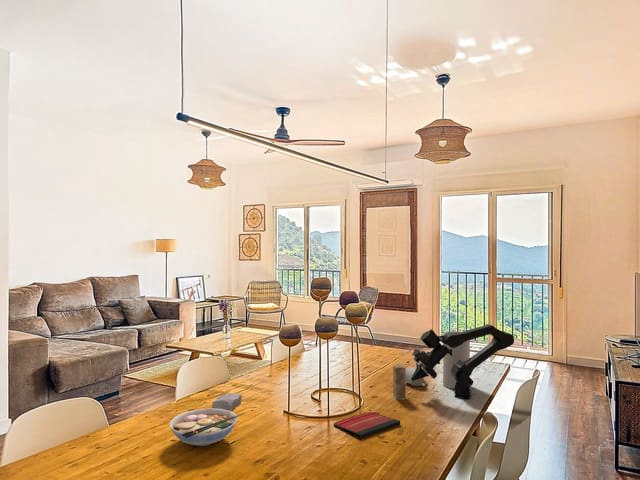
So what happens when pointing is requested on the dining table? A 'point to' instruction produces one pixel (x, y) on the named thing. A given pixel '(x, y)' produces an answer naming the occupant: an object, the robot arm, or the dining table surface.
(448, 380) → the cylinder vase
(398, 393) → the walnut block
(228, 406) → the stone block
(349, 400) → the dining table surface
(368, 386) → the dining table surface
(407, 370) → the ceramic mug
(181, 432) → the ramen bowl
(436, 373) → the robot arm
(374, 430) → the binder
